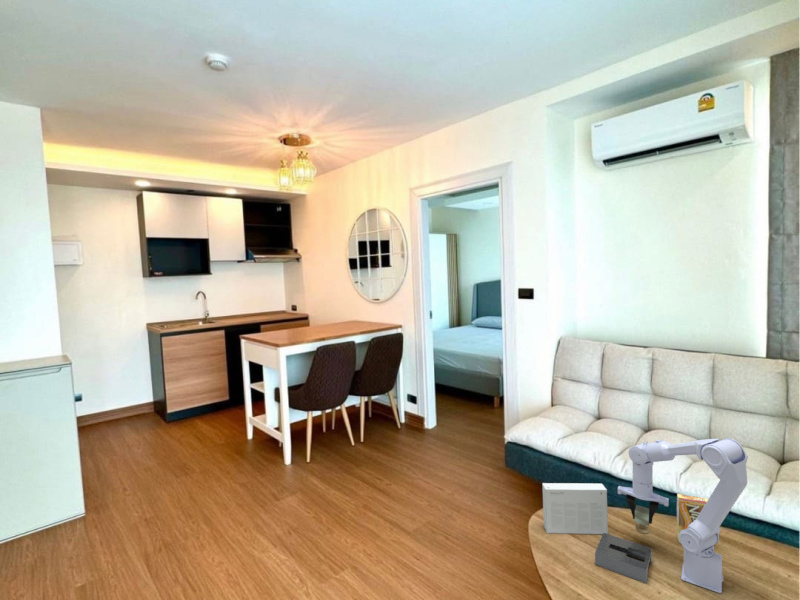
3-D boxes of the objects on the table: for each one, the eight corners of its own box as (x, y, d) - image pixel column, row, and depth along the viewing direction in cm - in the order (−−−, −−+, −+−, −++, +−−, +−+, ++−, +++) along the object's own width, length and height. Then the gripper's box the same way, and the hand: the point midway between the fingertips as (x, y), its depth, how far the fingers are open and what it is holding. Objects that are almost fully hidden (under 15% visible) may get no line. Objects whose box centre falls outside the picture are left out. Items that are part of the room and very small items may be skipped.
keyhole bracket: (651, 560, 132) (651, 548, 132) (646, 583, 123) (646, 570, 122) (603, 544, 141) (603, 532, 140) (595, 564, 131) (595, 552, 131)
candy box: (707, 542, 140) (707, 497, 139) (711, 550, 136) (711, 504, 135) (676, 536, 143) (676, 493, 142) (678, 543, 139) (679, 499, 138)
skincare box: (602, 525, 151) (602, 482, 150) (608, 535, 145) (608, 490, 144) (542, 524, 153) (541, 482, 152) (546, 533, 147) (545, 489, 146)
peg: (650, 529, 140) (650, 508, 139) (648, 535, 137) (648, 514, 136) (636, 525, 142) (636, 505, 142) (634, 531, 139) (634, 510, 139)
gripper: (669, 481, 137) (669, 521, 138) (620, 469, 146) (620, 507, 147) (667, 490, 131) (667, 532, 132) (616, 478, 140) (616, 517, 141)
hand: (642, 519), depth 139 cm, fingers closed on peg, 4 cm apart
